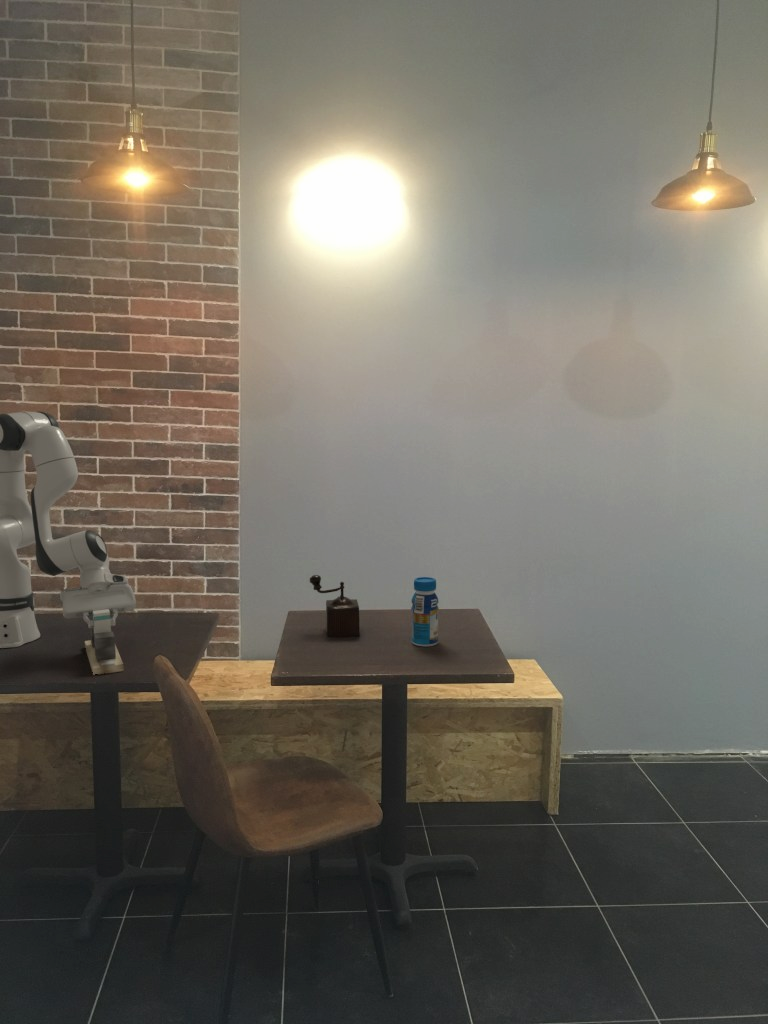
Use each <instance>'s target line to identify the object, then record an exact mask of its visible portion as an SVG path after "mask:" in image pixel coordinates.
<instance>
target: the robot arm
mask: <svg viewBox="0 0 768 1024" xmlns="http://www.w3.org/2000/svg"><path fill="white" fill-rule="evenodd" d="M59 426H60V425H59V424H58V421H57V419H56V418H55V416H54V415H52V414H50V413H48V412H45V411H26V410H25V411H17V412H11V413H9V412H8V413H0V649H4V648H5V649H6V648H17V647H21V646H23V645H24V644H26V643H27V644H28V643H30V642H34V641H35V640H37V639H39V638H40V637H41V633H40V630H39V628H38V624H37V621H36V616H35V615H36V614H35V607H36V606H35V596H34V593H33V591H32V579H31V577H32V576H31V569H30V567H29V566H28V565H27V564H25V563H24V562H22V561H20V558H19V555H18V551H17V550H18V549H19V550H20V549H21V548H25V547H29V546H31V545H33V544H35V559H36V564H37V567H38V569H39V570H40V571H41V572H42V573H44V574H47V575H49V576H53V577H56V576H57V575H61V574H63V573H65V572H68V571H70V570H73V569H77V568H78V569H79V571H80V575H79V582H80V586H77V587H76V586H75V587H71V588H70V587H67V588H64V589H63V590H61V591H60V593H59V600H60V601H61V602H62V616H63V617H64V618H65V619H74V618H75V619H76V618H83V621H84V622H85V623H86V624H87V625H88V629H89V630H90V628H94V620H93V619H92V620H91V619H90V617H93V612H92V611H95V610H103V609H109V611H110V614H112V617H110V622H111V627H114V626H116V619H117V617H118V615H119V613H125V612H134V610H135V609H136V608H137V600H136V595H135V593H134V590H133V588H132V586H131V585H130V584H129V579H128V577H127V576H125V575H121V574H115V573H111V570H110V558H109V554H108V550H107V549H108V548H107V545H106V543H105V540H104V538H103V537H102V536H101V535H100V534H98V533H96V532H94V531H93V530H89V529H86V530H83V531H82V530H81V531H79V532H76V533H72V534H69V535H66V536H63V537H60V538H56V539H54V538H53V533H52V525H51V518H50V511H51V509H52V506H53V505H54V504H55V503H56V502H57V501H58V500H59V499H60V498H62V497H63V496H64V495H66V494H67V493H68V492H70V490H72V489H73V488H74V486H75V485H76V483H77V480H78V478H79V471H78V470H79V469H78V465H77V463H76V459H75V456H74V453H73V449H72V448H71V446H70V442H69V441H68V439H67V436H65V434H64V431H63V430H62V429H61V428H60V427H59ZM26 451H27V452H29V453H30V455H31V458H32V462H33V465H34V468H35V472H36V482H35V485H34V487H33V488H32V489H31V490H30V503H29V499H28V496H27V495H28V494H27V490H26V489H27V488H26V478H25V477H26V473H25V460H24V459H25V458H24V456H25V453H26Z"/></svg>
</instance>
